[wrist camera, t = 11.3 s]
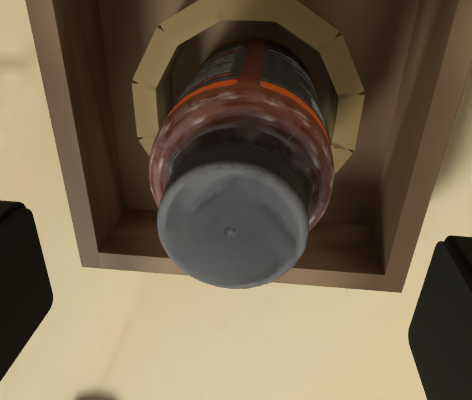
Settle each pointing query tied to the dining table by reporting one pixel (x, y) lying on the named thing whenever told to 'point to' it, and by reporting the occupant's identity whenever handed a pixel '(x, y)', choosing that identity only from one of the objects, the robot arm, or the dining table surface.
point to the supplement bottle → (242, 166)
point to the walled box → (329, 96)
